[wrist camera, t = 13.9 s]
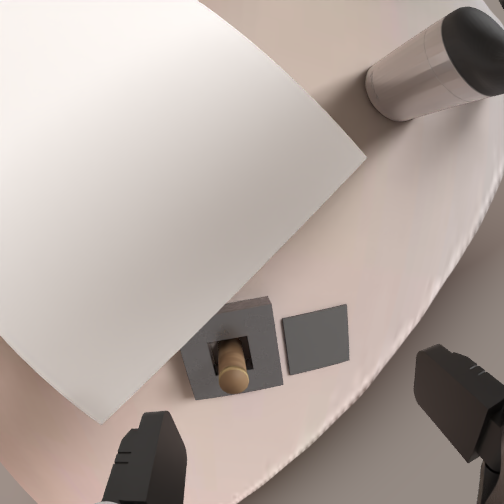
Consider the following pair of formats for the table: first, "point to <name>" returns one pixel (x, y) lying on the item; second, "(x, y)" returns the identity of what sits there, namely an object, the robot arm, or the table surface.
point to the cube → (142, 182)
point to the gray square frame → (227, 327)
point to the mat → (317, 339)
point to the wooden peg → (232, 366)
